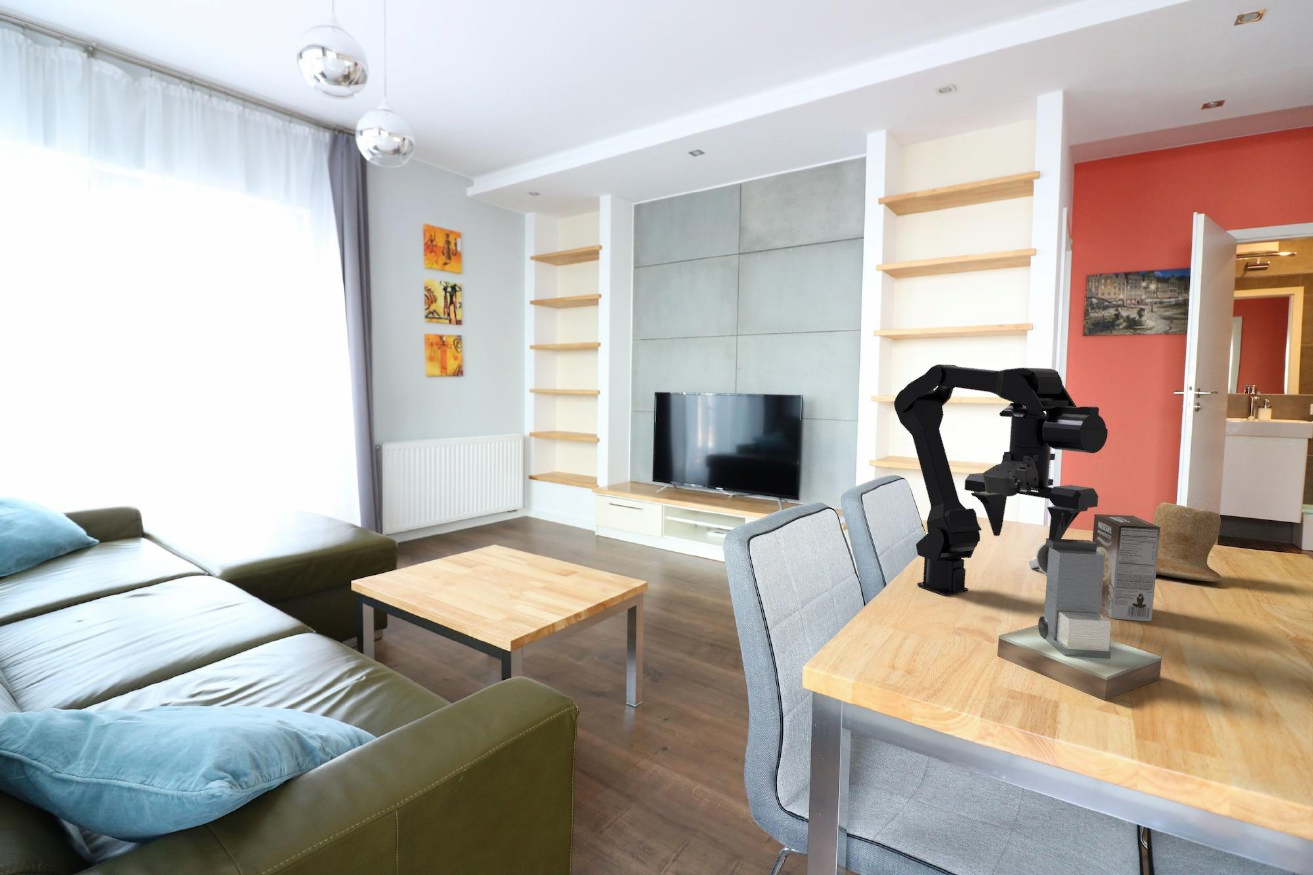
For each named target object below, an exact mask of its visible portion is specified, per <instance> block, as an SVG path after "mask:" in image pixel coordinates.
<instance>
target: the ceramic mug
mask: <svg viewBox="0 0 1313 875" xmlns="http://www.w3.org/2000/svg"><path fill="white" fill-rule="evenodd" d="M1036 552H1037V553H1036V559H1033V560H1029V561H1028V564H1029V566H1030V567H1029V568H1030V569H1040V571H1041V572H1042V573H1043V574H1044V575H1045V576H1047V569H1048V555H1049V547H1048V546H1046V542H1044V543H1043V544H1041V546H1040V547H1039V548H1038V550H1037V551H1036Z"/></svg>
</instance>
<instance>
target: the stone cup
mask: <svg viewBox="0 0 1313 875" xmlns="http://www.w3.org/2000/svg"><path fill="white" fill-rule="evenodd" d="M1221 519H1222V518H1221V516H1220V515H1219V513H1217V512H1215V511H1212V510H1207V509H1201V508H1195V507H1187V506H1185V505H1180V504H1175V503H1169V502H1161V503H1159V504H1158V505H1157V507H1156V509H1155V512H1154V514H1153V523H1152V524H1154V525H1156V526H1158V527H1161V529H1160V539H1159V549H1158V559H1157V569H1156V576H1163V577H1168V578H1169V577H1170V578H1174V579H1183V580H1190V581H1191V580H1192V581H1200V582H1201V581H1203V582H1219V581H1220V580H1221V579H1222V576H1221V574H1220V573H1219V572H1217V571H1215V570H1214V569H1212V568H1211V567H1210V566H1209V564H1208V560H1209V559H1208V558H1209V555H1210V552H1211V551H1212V549H1213V548H1214V546H1215V544H1216V542H1217V540H1218V538H1219V536H1220V529H1221V522H1222V520H1221Z"/></svg>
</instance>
